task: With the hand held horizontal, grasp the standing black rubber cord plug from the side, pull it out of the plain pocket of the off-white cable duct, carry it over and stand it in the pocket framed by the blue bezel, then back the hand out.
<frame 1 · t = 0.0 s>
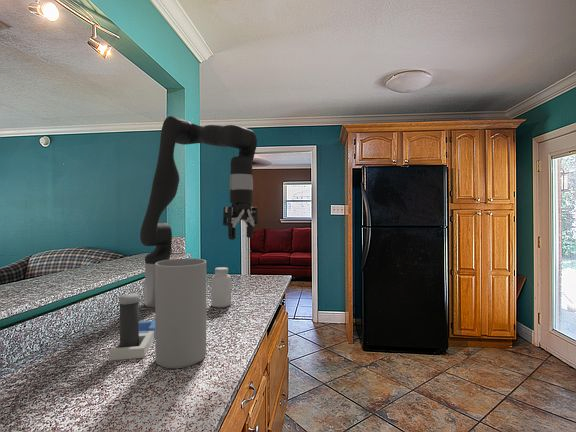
hand: (241, 238, 102), 29 cm above the worktop, tool pointing down, fingers open, 8 cm apart
cord plug: (129, 350, 85), on the worktop
duct: (133, 342, 90), on the worktop
cylinder vase: (181, 358, 81), on the worktop
pill bottle: (221, 305, 126), on the worktop
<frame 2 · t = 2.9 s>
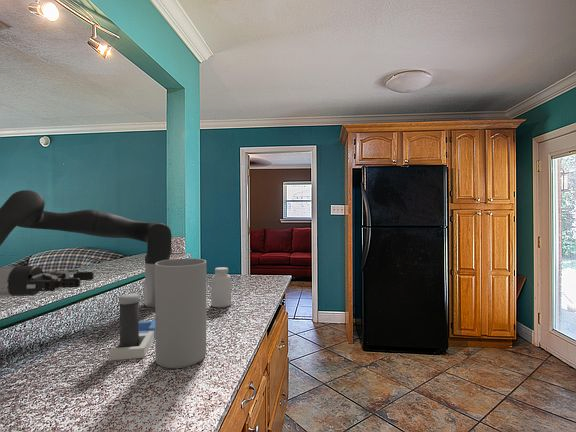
hand: (86, 279, 82), 20 cm above the worktop, tool horizontal, fingers open, 8 cm apart
nothing on the worktop moved.
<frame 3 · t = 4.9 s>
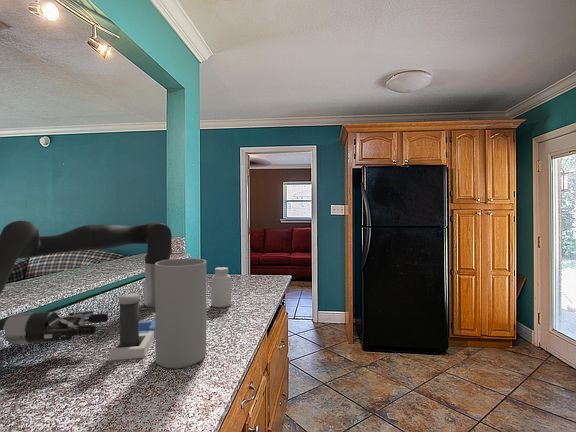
hand: (101, 323, 83), 8 cm above the worktop, tool horizontal, fingers open, 8 cm apart
nothing on the worktop moved.
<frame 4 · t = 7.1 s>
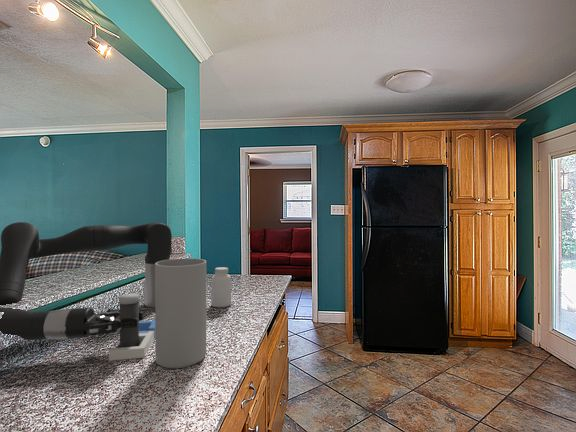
hand: (139, 319, 85), 9 cm above the worktop, tool horizontal, fingers closed on cord plug, 4 cm apart
cord plug: (129, 350, 85), on the worktop, touching gripper
everything else where it was.
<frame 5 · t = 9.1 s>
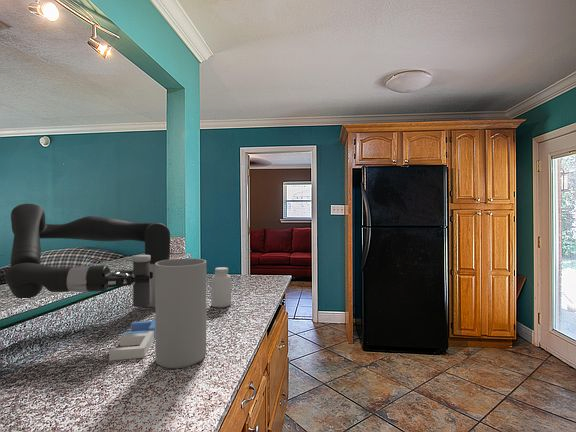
hand: (150, 276, 96), 18 cm above the worktop, tool horizontal, fingers closed on cord plug, 4 cm apart
cord plug: (141, 304, 95), point 9 cm above the worktop, touching gripper
everything else where it was.
when the fingers open (10 cm above the worktop, at t = 11.1 s): cord plug drops 1 cm, on the worktop.
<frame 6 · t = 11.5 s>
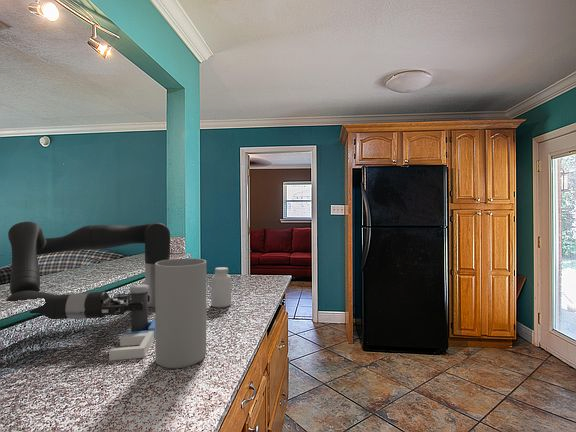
hand: (146, 302, 96), 10 cm above the worktop, tool horizontal, fingers open, 8 cm apart
cord plug: (139, 335, 96), on the worktop
everything else where it was.
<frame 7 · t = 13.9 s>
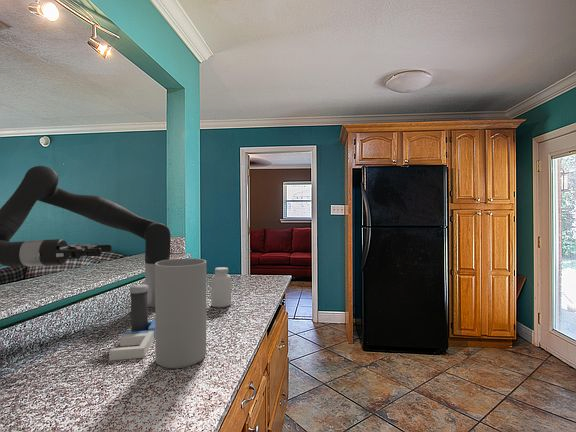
hand: (106, 249, 93), 26 cm above the worktop, tool horizontal, fingers open, 8 cm apart
nothing on the worktop moved.
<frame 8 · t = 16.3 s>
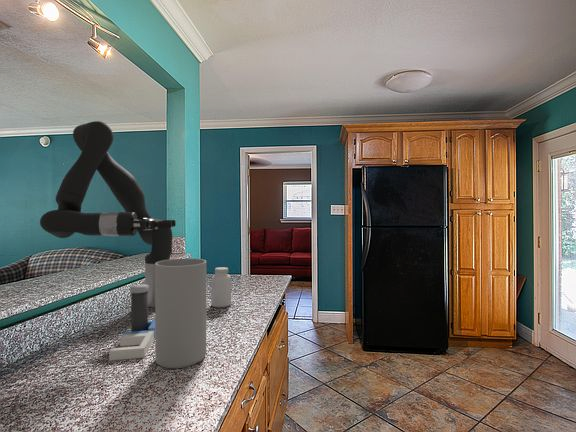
hand: (173, 223, 100), 34 cm above the worktop, tool horizontal, fingers open, 8 cm apart
nothing on the worktop moved.
at the end: cord plug 0.1 cm from the target spot, on the worktop; cord plug tilted 1°; the gripper is holding nothing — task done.
